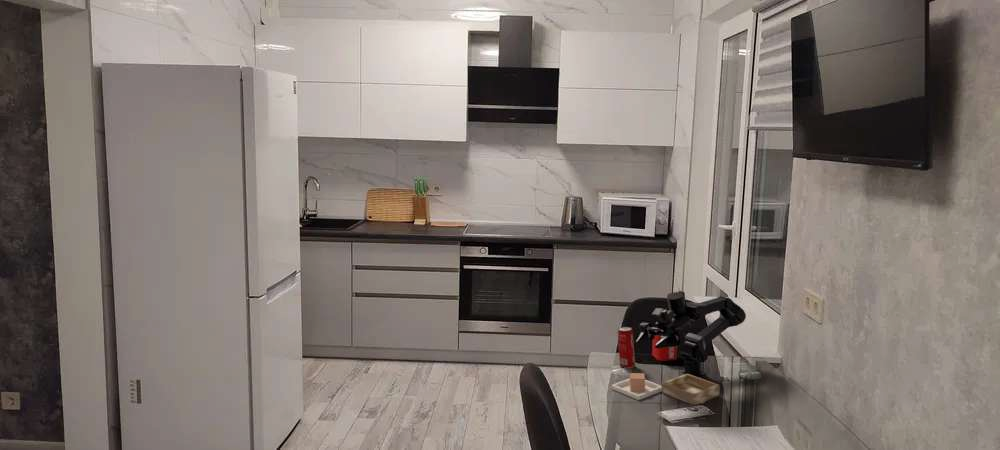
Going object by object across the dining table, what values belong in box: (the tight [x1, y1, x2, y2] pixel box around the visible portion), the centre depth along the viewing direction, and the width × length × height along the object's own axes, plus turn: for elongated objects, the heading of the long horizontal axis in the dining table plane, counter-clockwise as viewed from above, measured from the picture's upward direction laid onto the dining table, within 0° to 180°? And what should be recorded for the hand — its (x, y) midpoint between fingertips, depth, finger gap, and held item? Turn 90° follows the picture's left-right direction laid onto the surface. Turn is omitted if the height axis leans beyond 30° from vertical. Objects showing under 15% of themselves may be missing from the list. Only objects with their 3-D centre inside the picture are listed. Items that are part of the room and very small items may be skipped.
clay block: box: [629, 372, 646, 393], centre depth 239 cm, size 5×5×5 cm
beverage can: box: [617, 326, 636, 369], centre depth 262 cm, size 6×6×15 cm
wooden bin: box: [660, 374, 721, 406], centre depth 234 cm, size 14×14×4 cm
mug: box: [651, 335, 678, 362], centre depth 271 cm, size 12×8×11 cm
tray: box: [610, 377, 661, 401], centre depth 239 cm, size 13×13×2 cm
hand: (645, 345), depth 235 cm, fingers open, 9 cm apart
